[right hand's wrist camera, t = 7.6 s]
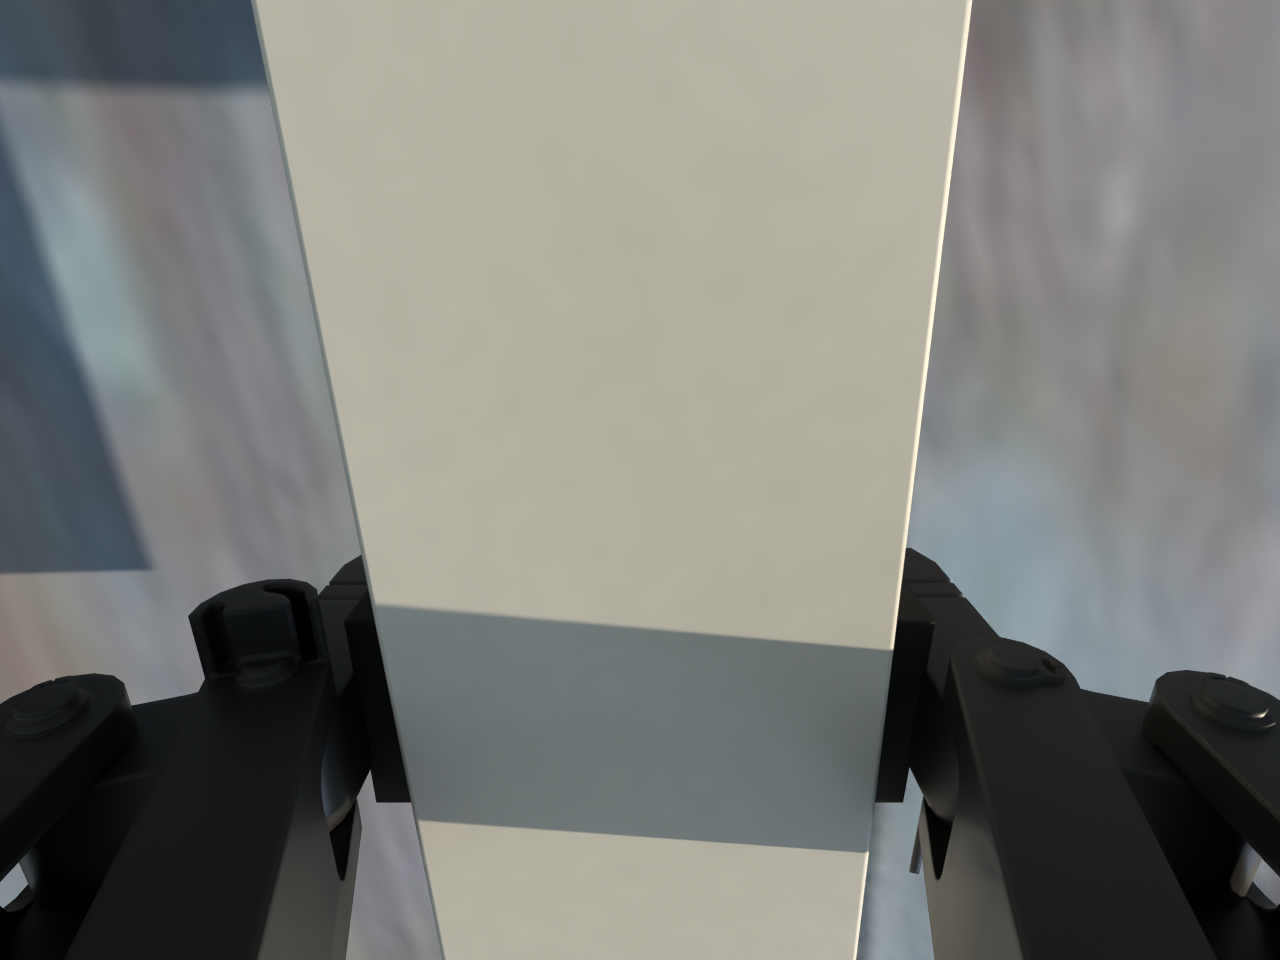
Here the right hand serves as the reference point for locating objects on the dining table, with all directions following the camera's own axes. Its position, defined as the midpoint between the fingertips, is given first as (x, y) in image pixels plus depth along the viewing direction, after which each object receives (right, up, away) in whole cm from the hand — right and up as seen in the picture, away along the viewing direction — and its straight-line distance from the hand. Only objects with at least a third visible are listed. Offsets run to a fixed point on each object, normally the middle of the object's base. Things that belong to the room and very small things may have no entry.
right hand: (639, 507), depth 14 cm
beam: (-1, +23, -8) cm, 25 cm away
